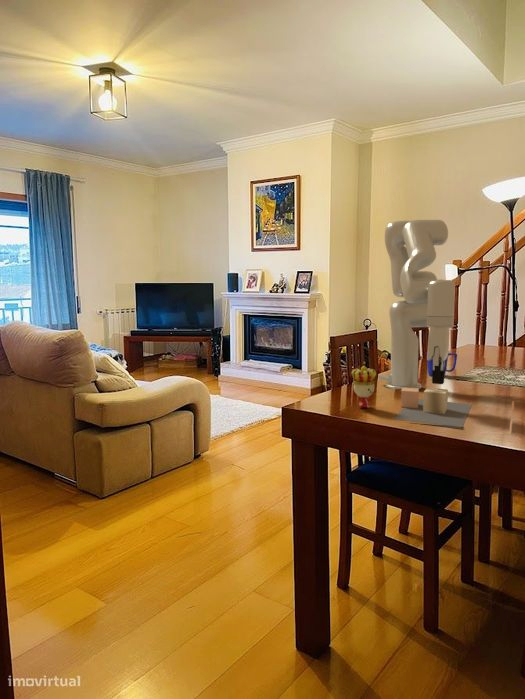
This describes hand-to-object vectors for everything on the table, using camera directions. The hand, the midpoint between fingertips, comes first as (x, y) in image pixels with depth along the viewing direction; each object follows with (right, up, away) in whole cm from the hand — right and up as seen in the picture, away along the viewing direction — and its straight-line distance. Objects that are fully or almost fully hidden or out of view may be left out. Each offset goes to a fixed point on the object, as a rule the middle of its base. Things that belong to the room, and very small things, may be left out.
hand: (438, 383), depth 153 cm
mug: (+21, -1, +57) cm, 61 cm away
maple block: (0, -5, 0) cm, 5 cm away
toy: (-22, -8, +2) cm, 24 cm away
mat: (-2, -9, -3) cm, 9 cm away
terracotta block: (-7, -7, +4) cm, 11 cm away
